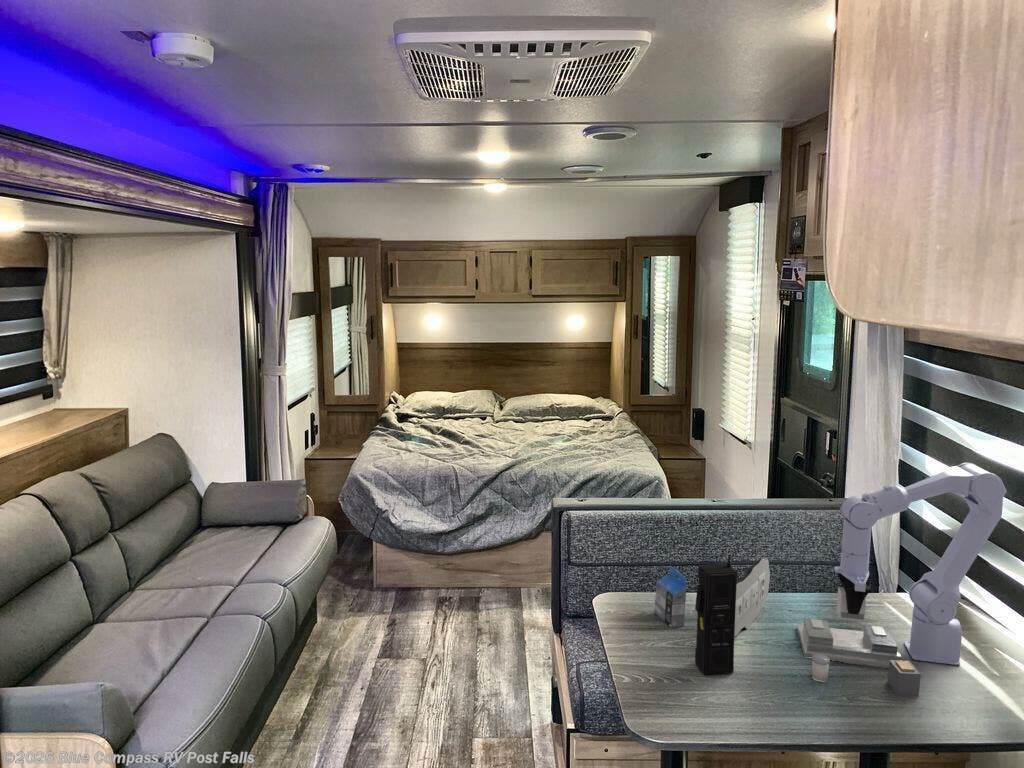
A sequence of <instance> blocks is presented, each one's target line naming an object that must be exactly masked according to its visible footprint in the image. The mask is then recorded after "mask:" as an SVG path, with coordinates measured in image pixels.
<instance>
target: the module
mask: <svg viewBox="0 0 1024 768" xmlns="http://www.w3.org/2000/svg"><path fill="white" fill-rule="evenodd" d="M837 587H838V588H837V589H838V590H837V603H836V614H837V616H838V619H839V620H841V621H842V620H843V621H850V622H851V621H852V622H860V623H865V616H866V615H865V614H866V613H865V612H866V603H867V602H866V600H867V596H866V597H865V599H864V601H863V603H862V606H861V609H860V612H859V614H849V613H848V610H847V601H846V594H845V590H844V587H841V586H837Z"/></svg>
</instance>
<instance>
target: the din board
mask: <svg viewBox="0 0 1024 768" xmlns="http://www.w3.org/2000/svg"><path fill="white" fill-rule="evenodd" d="M796 630H797V634H798V637H799V640H800V641H801V642H800V641H799V642H800V645H802V646H801V648H802V649H803V650H802V653H803V652H804V654H803V657H804V656H805V657H812V655H814V654H823V655H825V656H827V657H829V659H830V660H833V661H839V662H838V663H841V662H844V663H843V664H851V665H858V666H866V667H874V668H881V667H882V669H889V660H898V661H903V660H902V655H901V654H900V652H898V645H897V643H896V641H895V639H894V638H893V635H892V633H891V631H890V629H889V627H888V626H887V627H885V626H876V625H870V624H869V625H868V624H864V625H863V631H862V630H860V631H859V630H851V629H844V628H843V629H842V628H836V627H834V628H833V627H830V626H829V623H828V620H827V619H826V620H823V619H817V618H816V619H814V618H807V617H804V618H803V624H801V623H797V625H796ZM833 661H832V662H833Z"/></svg>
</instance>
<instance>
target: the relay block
mask: <svg viewBox="0 0 1024 768" xmlns="http://www.w3.org/2000/svg"><path fill="white" fill-rule="evenodd" d="M887 675H888V676H887V684H888V685H889V686H890V687H891V688H892V690H893V691H894V693H895V694H896V695H897V696H899V697H915V698H916V697H919V696H920V686H921V685H920V684H921V673H920V671H919V670H918V669H917V667H915V665H914V664H913V663H912V662H911V661H910V660H902V661H898V660H889V668H888V674H887Z"/></svg>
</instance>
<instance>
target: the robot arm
mask: <svg viewBox="0 0 1024 768" xmlns="http://www.w3.org/2000/svg"><path fill="white" fill-rule="evenodd" d="M1007 492H1008V491H1007V489H1006V487H1005V485H1004V483H1003V480H1002V479H1001V477H1000V476H998V475H997V474H995V473H992V472H989V471H987V470H985V469H983V468H982V467H980V466H978V465H976V464H974V463H972V462H963V463H960V464H958V465H955V466H954V465H953V466H950V467H948V468H947V469H945V470H944V471H942V472H939V473H937V474H935V475H931V476H930V477H927V478H924V479H923V480H919V481H917V482H915V483H913V484H910V485H908V486H905V487H900V486H899V485H896V484H894V485H890V484H886V485H883V489H879V490H877V491H874V492H871V493H866V492H865V493H863V494H862V496H854V495H853V496H850V497H848V498H846V499H845V500H844V501H843V503H842V505H841V506H839V510H840V512H839V513H840V514H841V516H842V517H843V523H842V527H843V529H842V538H841V549H840V550H841V551H840V565H839V566H834V567H833V569H834V572H835V573H836V574H837V577H838V578H839V581H840V582H839V583H840V585H841V586H840V587H844V590H845V594H846V601H847V610H848V613H849V614H859V612H860V609H861V606H862V603H863V601H864V599H865V597H866V598H867V595H868V594H869V593H870V592H871V587H870V585H867V584H866V583H867V581H868V578H869V576H870V571H869V566H870V555H871V554H870V552H871V542H872V541H871V539H872V538H871V537H872V527H873V526H875V525H876V523H877V522H878V520H881V519H883V518H886V517H890V516H893V515H897V514H899V513H902V512H904V511H907V510H908V509H909V506H910V505H911V503H914V502H918V501H923V500H925V499H928V498H932V497H936V496H939V495H943V494H946V493H951V494H954V495H958V496H959V495H960V496H963V497H964V499H965V502H966V504H967V505H968V508H969V512H968V514H967V515H966V517H965V519H964V520H963V522H962V524H961V525H960V526H959V528H958V530H957V531H956V533H955V535H954V536H953V538H952V540H951V541H950V543H949V545H948V546H947V548H946V549H945V551H944V553H943V554H942V556H941V558H940V559H939V561H938V563H937V565H936V566H935V568H934V569H933V570H931V571H928V572H925V573H923V575H922V576H921V577H920V579H919V580H918V581H916V582H914V583H913V584H912V585H911V587H910V588H909V592H908V595H909V599H910V601H911V602H912V603H913V609H912V616H911V618H912V619H911V626H910V627H911V629H910V639H909V640H905V641H903V644H904V646H905V648H906V649H907V651H908V654H909V655H910V657H911V659H912V660H915V661H921V662H930V663H937V664H945V665H952V666H960V665H961V662H960V660H961V659H960V657H961V648H962V640H963V635H962V634H963V631H962V626H961V623H960V620H958V619H957V618H955V617H956V615H957V613H958V604H959V603H960V600H961V599H962V598H961V597H962V596H961V592H960V590H961V589H960V585H961V583H962V581H963V579H964V578H965V576H966V574H967V573H968V571H969V570H970V569H971V567H972V565H973V563H974V561H975V560H976V559H977V557H978V555H979V553H980V552H981V550H982V549H983V547H984V546H985V544H986V543H987V540H988V539H989V537H990V536H991V534H993V532H994V530H995V527H996V526H997V525H998V523H999V522H1000V520H1001V518H1002V515H1003V505H1004V504H1003V502H1004V497H1005V495H1006V494H1007Z"/></svg>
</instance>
